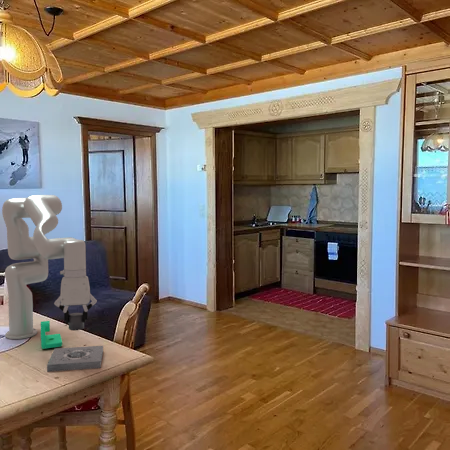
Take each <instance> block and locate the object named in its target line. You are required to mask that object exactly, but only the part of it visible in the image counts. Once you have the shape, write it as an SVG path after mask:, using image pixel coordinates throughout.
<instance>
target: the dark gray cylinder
mask: <svg viewBox="0 0 450 450" xmlns="http://www.w3.org/2000/svg"><path fill="white" fill-rule="evenodd" d="M83 329H85V323H84V322H83V312H73V313H72V312H71V313H69V323H68V330H70V331H81V330H83Z"/></svg>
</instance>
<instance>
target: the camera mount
mask: <svg viewBox="0 0 450 450" xmlns="http://www.w3.org/2000/svg"><path fill="white" fill-rule="evenodd" d="M49 332H51V321H50V320H46V321H45V320H43V321H40V347H41V349H42V350H44V349H51V348H52V349H53V348H61V347H63V340H62V335H61V333H55V334H47V333H49Z"/></svg>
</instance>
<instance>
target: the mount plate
mask: <svg viewBox="0 0 450 450" xmlns="http://www.w3.org/2000/svg"><path fill="white" fill-rule="evenodd" d="M103 356H104V345H91V346H89V345H88V346H75V347H73V346H72V347H54V349H53V351H52V353H51V355H50V358H49V359H48V362H47V363H46V372H47V373H48V372H62V371H75V370H89V369H90V370H92V369H101V367H102V361H103Z"/></svg>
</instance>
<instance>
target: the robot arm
mask: <svg viewBox="0 0 450 450" xmlns="http://www.w3.org/2000/svg"><path fill="white" fill-rule="evenodd" d="M62 210H63V203H62V201H61V199H60V198H59V197H58V196H57V195H55V194H34V195H30V196H28V197H15V198H13V197H12V198H9V199H6V200H5V201H4V202H3V203H2V209H1V213H2V217H3V221H4V224H5V227H6V241H7V242H6V243H7V253H8V256H9V259H11V260H15V261H20V260H29V259H30V261H25V262H24V261H22V262H16V263H12V264H10V265H8V266H6V268H5V271H4V277H5V281H6V282H5V283H6V286H7V300H8V303H7V304H8V331H7V332H5V335H4V336H5V338H6V339H9V340H23V339H28V338H31V337H34V336H36V335H37V334H38V329H36V328H34V311H33V310H34V309H33V308H34V303H33V292H32V291H31V289H30V288H29V287H28V286H27V285H30V284H36V283H40V282H41V283H42V282H44V281H46V280H47V279H48V276H49V260H55V259H56V260H57V259H63V266H64V267H63V270H60V271H59V275H62V279H61V283H60V295H59V296H58V297H57V299H56V300H55V301H54V303H53V304H54V306H56V307H57V308H58V309H59V310H61V312H62V313H63V315H64V317H63V320H64V321H65V324H68V325H69V314H70V311H69V307H70V306H71V307H72V306H82V308H83V311H82V313H83V322H84V324H86V321H87V320H88V319H89V317H88V315H89V313H88V312H89V310H90V309H91V308H92V307H93V306H94V305H95V304H96V303H97V301H98V300H97V299H96V298H95V296H93V295H92V294H91V288H90V287H91V286H90V281H89V277H88V276H87V262H86V261H87V259H86V258H87V257H86V256H87V255H86V253H87V252H86V248H87V247H86V242H85V241H84V240H83V239H77V238H74V237H56V238H55V237H54V238H47V236H46V235H47V234H49V233H50V232H52V231H54V230H55V229H56V228H57V226H58V224H59V218H58V216H57V215H59V214H61V212H62ZM24 219H31V221H32V223H33V224H34V225H35V228H34V231H33V234H32V235H33V236H30V232H29V231H30V230H29V229H30V228H29V224H28V223H27V222H26V221H25V220H24ZM31 259H33V260H32V261H31ZM90 301H91V302H90Z"/></svg>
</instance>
